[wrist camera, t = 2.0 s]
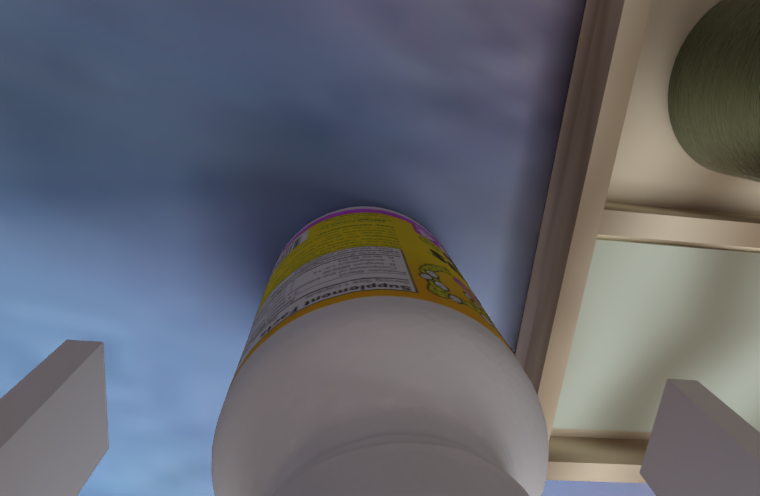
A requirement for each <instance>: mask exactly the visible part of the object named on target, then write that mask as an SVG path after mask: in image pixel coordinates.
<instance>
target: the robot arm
mask: <svg viewBox="0 0 760 496" xmlns="http://www.w3.org/2000/svg"><path fill="white" fill-rule="evenodd" d="M108 448H109V440H108V421H107V402H106V383H105V363H104V344H103V342H94V341H79V340H66V341H65V342H64V343H63V344H62V345H61V346H59V347H58V348H57V349H56V350H55V351H54V352H53V353H52V354H50V355H49V356H48V357H47V358H46V359H45V360H44V361H43V362H41V363H40V364H39V365H38V366H37V367H36V368H35V369H34V370H32V371H31V372H30V373H29V374H28V375H27V376H26V377H25V378H23V379H22V380H21V381H20V382H19V383H18V384H17V385H16V386H14V387H13V388H12V389H11V390H10V391H9V392H8V393H7V394H5V395H4V396H3V397H2V398H1V399H0V496H77V495H78V493H79V492H80V490H81V489H82V487H83V486H84V484H85V483H86V481H87V480H88V478H89V477H90V475H91V474H92V472H93V471H94V469H95V468H96V466H97V465H98V463H99V462H100V460H101V459H102V457H103V456H104V454H105V453H106V451H107V450H108ZM639 473H640V475H641V476H642V477H643V479H644V480H645V481H646V483H647V484H648V485H649V487H650V488H651V489H652V490H653V492H654V493H655V494H656V496H760V432H759V431H757V430H756V429H755V428H754V427H753V426H751V425H750V424H749V423H748V422H747V421H745V420H744V419H743V418H742V417H741V416H739V415H738V414H737V413H736V412H734V411H733V410H732V409H731V408H730V407H728V406H727V405H726V404H725V403H724V402H722V401H721V400H720V399H719V398H718V397H716V396H715V395H714V394H713V393H712V392H710V391H709V390H708V389H707V388H706V387H704V386H703V385H702V384H701V383H700V382H698V381H697V380H683V379H668V378H667V381H666V385H665V388H664V391H663V395H662V398H661V402H660V405H659V408H658V412H657V415H656V418H655V422H654V425H653V429H652V432H651V435H650V439H649V442H648V445H647V449H646V452H645V456H644V459H643V462H642V466H641V469H640V472H639Z"/></svg>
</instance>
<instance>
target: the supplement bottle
mask: <svg viewBox="0 0 760 496" xmlns="http://www.w3.org/2000/svg"><path fill="white" fill-rule="evenodd" d="M548 457H549V444H548V433H547V427H546V420H545V417H544V413H543V409H542V406H541V404H540V401H539V398H538V396H537V393H536V391H535V389H534V387H533V384H532V383H531V381H530V379H529V378H528V376H527V374H526V373H525V371H524V369H523V368H522V366H521V364H520V362H519V361H518V359H517V358H516V356H515V355H514V353H513V352H512V350H511V349H510V348H509V346H508V345H507V343H506V342H505V340H504V339H503V337H502V336H501V334H500V333H499V331H498V330H497V328H496V327H495V325H494V324H493V322H492V321H491V319H490V318H489V316H488V314H487V313H486V312H485V310H484V309H483V307H482V305H481V304H480V302H479V300H478V299H477V298H476V296H475V295H474V293H473V292H472V291H471V289H470V287H469V286H468V284H467V282H466V281H465V279H464V278H463V276H462V274H461V273H460V272H459V270H458V269H457V267H456V266H455V264H454V263H453V261H452V260H451V258H450V257H449V255H448V254H447V252H446V251H445V250H444V248H443V247H442V246H441V244H440V243H439V242H438V241H437V240H436V238H435V237H434V236H433V235H432V234H431V233H430V232H429V231H428V230H427V229H426V228H424V227H423V226H422V225H420V224H419V223H417V222H416V221H414V220H413V219H411V218H409V217H407V216H405V215H403V214H401V213H398V212H395V211H392V210H389V209H384V208H379V207H368V206H359V207H349V208H344V209H340V210H337V211H334V212H331V213H328V214H325V215H323V216H321V217H319V218H317V219H315V220H314V221H312V222H310V223H309V224H307V225H306V226H305V227H303V228H302V229H301V230H300V231H299V232H298V233H297V234H296V235H295V236H294V237H293V238H292V239H291V240H290V241H289V242H288V244H287V245H286V246H285V248H284V249H283V251H282V252H281V254H280V256H279V258H278V260H277V262H276V264H275V266H274V268H273V271H272V273H271V276H270V278H269V281H268V284H267V287H266V289H265V292H264V295H263V298H262V301H261V303H260V306H259V309H258V311H257V314H256V317H255V320H254V322H253V326H252V328H251V331H250V334H249V337H248V340H247V342H246V345H245V348H244V351H243V353H242V356H241V359H240V361H239V364H238V367H237V369H236V372H235V374H234V377H233V380H232V382H231V385H230V387H229V390H228V393H227V395H226V398H225V401H224V404H223V407H222V410H221V412H220V415H219V418H218V422H217V426H216V430H215V434H214V440H213V446H212V481H213V489H214V493H215V496H542V494H543V490H544V486H545V482H546V476H547V471H548Z"/></svg>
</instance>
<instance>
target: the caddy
mask: <svg viewBox="0 0 760 496" xmlns="http://www.w3.org/2000/svg"><path fill="white" fill-rule="evenodd" d="M720 1H721V0H587V1H586V6H585V11H584V16H583V21H582V26H581V31H580V36H579V41H578V46H577V51H576V56H575V61H574V65H573V70H572V75H571V80H570V85H569V90H568V95H567V100H566V105H565V110H564V115H563V120H562V125H561V130H560V135H559V140H558V145H557V150H556V155H555V160H554V165H553V170H552V175H551V180H550V184H549V189H548V194H547V199H546V204H545V209H544V214H543V219H542V224H541V229H540V234H539V239H538V244H537V249H536V254H535V259H534V264H533V269H532V274H531V279H530V284H529V289H528V294H527V299H526V303H525V308H524V313H523V318H522V323H521V328H520V333H519V338H518V343H517V348H516V353H515V356H516V358H517V359H518V361H519V362H520V364H521V366H522V368H523V369H524V371H525V373H526V374H527V376H528V378H529V379H530V381H531V383H532V384H533V387H534V389H535V391H536V393H537V396H538V398H539V401H540V404H541V406H542V409H543V413H544V417H545V420H546V427H547V433H548V444H549V457H548V471H547V476H546V480H568V481H598V482H628V483H646V481H645V480H644V479H643V477H642V476H641V475H640V473H639V472H640V469H641V466H642V462H643V459H644V456H645V452H646V449H647V445H648V442H649V439H650V435H651V432H652V429H653V425H654V422H655V418H656V415H657V412H658V408H659V405H660V402H661V398H662V395H663V391H664V388H665V385H666V381H667V378H668V379H683V380H697V381H698V382H700V383H701V384H702V385H703V386H704V387H706V388H707V389H708V390H709V391H710V392H712V393H713V394H714V395H715V396H716V397H718V398H719V399H720V400H721V401H722V402H724V403H725V404H726V405H727V406H728V407H730V408H731V409H732V410H733V411H734V412H736V413H737V414H738V415H739V416H741V417H742V418H743V419H744V420H745V421H747V422H748V423H749V424H750V425H751V426H753V427H754V428H755V429H756V430H757V431H759V432H760V183H759V182H755V181H751V180H746V179H742V178H738V177H733V176H729V175H725V174H720V173H717V172H714V171H711V170H709V169H707V168H705V167H703V166H701V165H699V164H698V163H697V162H695V161H694V160H693V159H692V158H691V157H690V156H689V155H688V154H687V153H686V152H685V151H684V150H683V148H682V147H681V145H680V144H679V142H678V140H677V138H676V136H675V134H674V132H673V129H672V126H671V123H670V117H669V112H668V88H669V81H670V76H671V72H672V69H673V65H674V62H675V59H676V57H677V55H678V53H679V50H680V48H681V46H682V44H683V43H684V41H685V39H686V37H687V36H688V34H689V33H690V31H691V30H692V29H693V27H694V26H695V25H696V23H697V22H698V21H699V20H700V19H701V18H702V17H703V16H704V14H705V13H706V12H708V11H709V10H710V9H711V8H712V7H713V6H714V5H716V4H717V3H718V2H720Z"/></svg>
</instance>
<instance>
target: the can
mask: <svg viewBox="0 0 760 496" xmlns="http://www.w3.org/2000/svg"><path fill="white" fill-rule="evenodd" d="M668 112H669V117H670V123H671V126H672V129H673V132H674V134H675V136H676V138H677V140H678V142H679V144H680V145H681V147H682V148H683V150H684V151H685V152H686V153H687V154H688V155H689V156H690V157H691V158H692V159H693V160H694V161H695V162H697V163H698V164H699V165H701V166H703V167H705V168H707V169H709V170H711V171H714V172H717V173H720V174H725V175H729V176H733V177H738V178H742V179H746V180H751V181H755V182H759V183H760V0H721V1H720V2H718V3H717V4H716V5H714V6H713V7H712V8H711V9H710V10H709V11H708V12H706V13H705V14H704V16H703V17H702V18H701V19H700V20H699V21H698V22H697V23H696V25H695V26H694V27H693V29H692V30H691V31H690V33H689V34H688V36H687V37H686V39H685V41H684V43H683V44H682V46H681V48H680V50H679V53H678V55H677V57H676V59H675V62H674V65H673V69H672V72H671V76H670V81H669V88H668Z"/></svg>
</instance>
